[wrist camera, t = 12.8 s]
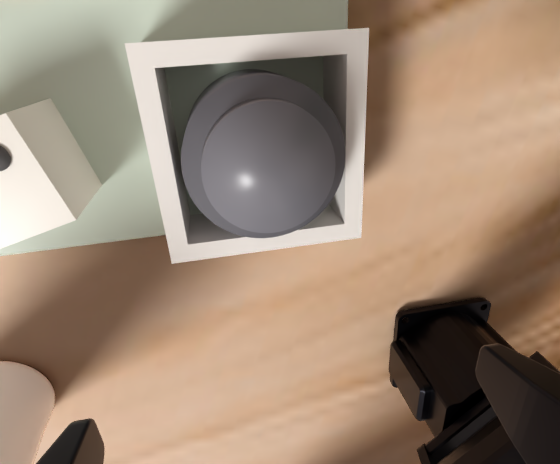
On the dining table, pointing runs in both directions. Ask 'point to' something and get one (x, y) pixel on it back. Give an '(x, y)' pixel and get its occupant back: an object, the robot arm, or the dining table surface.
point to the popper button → (261, 154)
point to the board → (176, 104)
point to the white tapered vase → (23, 411)
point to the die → (40, 173)
